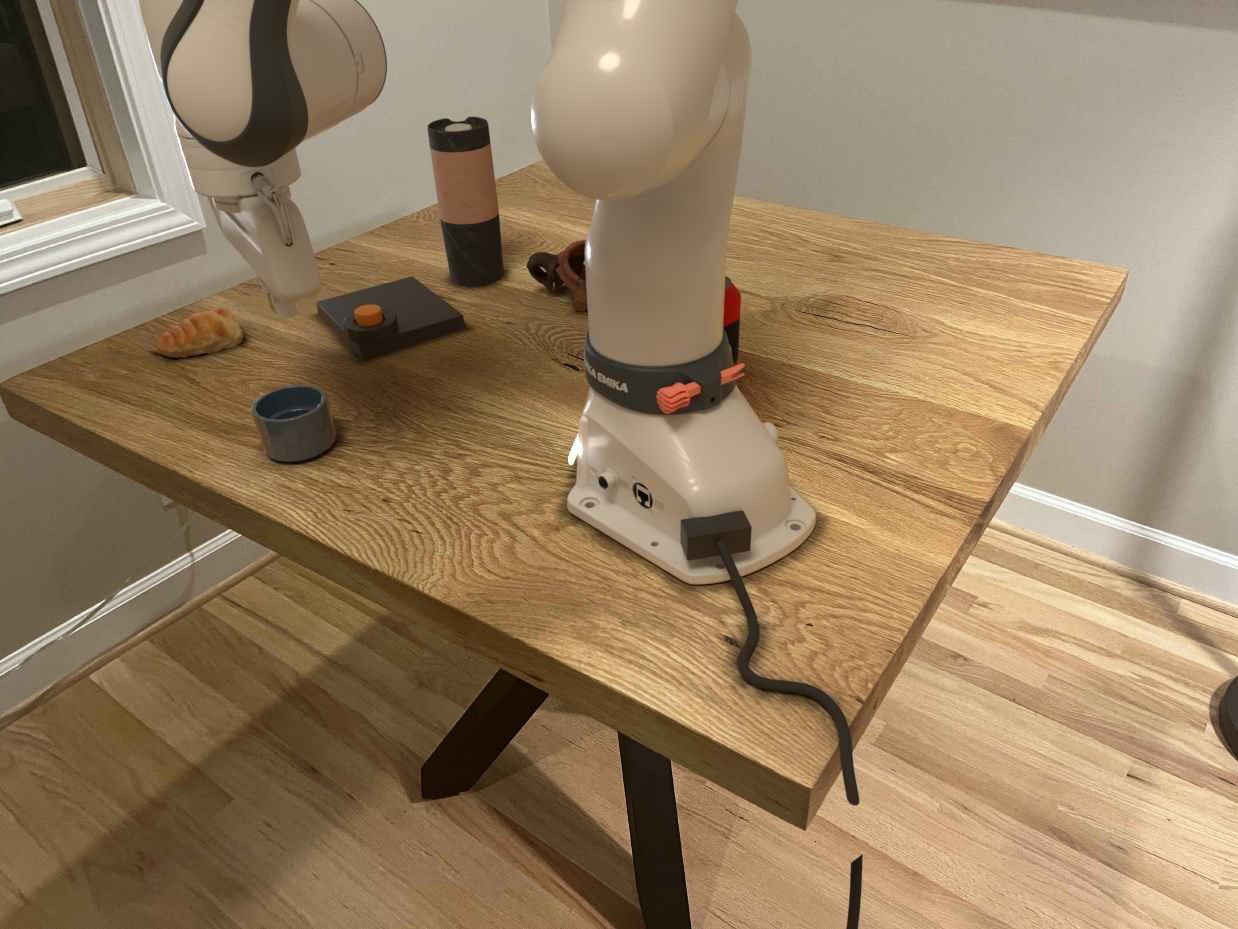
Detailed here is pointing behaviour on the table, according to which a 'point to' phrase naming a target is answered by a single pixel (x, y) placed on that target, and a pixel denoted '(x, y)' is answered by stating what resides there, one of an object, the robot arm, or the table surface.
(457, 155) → the travel mug
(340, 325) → the scale
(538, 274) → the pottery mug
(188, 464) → the table surface
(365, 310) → the button
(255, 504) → the table surface
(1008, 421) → the table surface
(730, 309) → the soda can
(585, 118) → the robot arm
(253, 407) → the bowl
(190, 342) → the pastry
